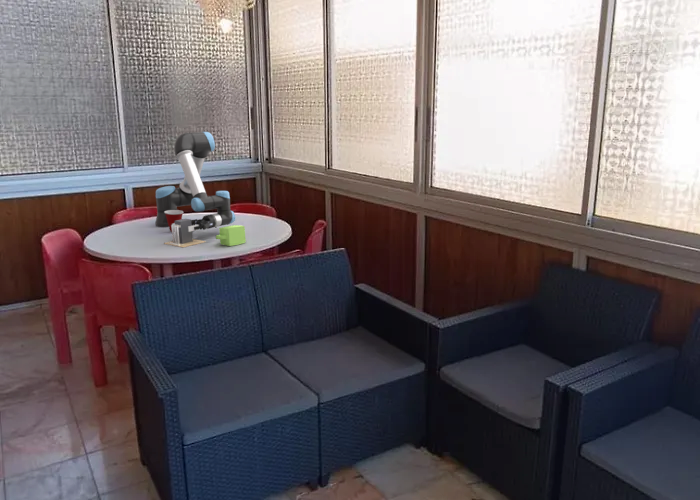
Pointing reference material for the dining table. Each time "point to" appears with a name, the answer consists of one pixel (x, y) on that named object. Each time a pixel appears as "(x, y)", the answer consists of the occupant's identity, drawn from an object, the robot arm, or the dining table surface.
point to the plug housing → (184, 231)
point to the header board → (179, 241)
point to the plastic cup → (173, 217)
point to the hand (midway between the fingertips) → (180, 227)
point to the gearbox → (231, 235)
